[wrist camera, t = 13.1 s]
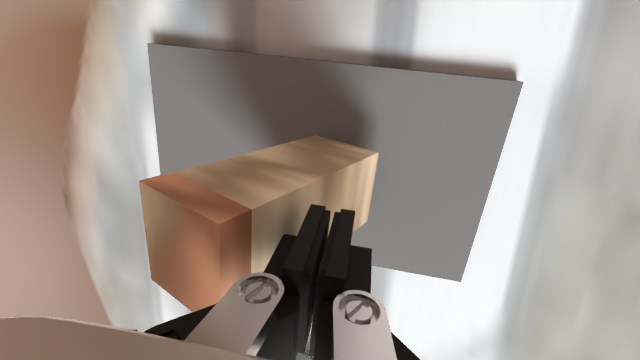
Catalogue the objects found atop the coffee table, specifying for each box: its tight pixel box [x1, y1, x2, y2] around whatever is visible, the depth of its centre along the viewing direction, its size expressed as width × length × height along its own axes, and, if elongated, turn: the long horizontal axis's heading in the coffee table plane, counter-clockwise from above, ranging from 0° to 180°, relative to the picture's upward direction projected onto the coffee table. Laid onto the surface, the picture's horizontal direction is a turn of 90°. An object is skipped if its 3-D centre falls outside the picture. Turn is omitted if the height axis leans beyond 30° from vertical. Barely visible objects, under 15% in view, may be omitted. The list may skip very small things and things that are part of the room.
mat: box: [147, 43, 523, 282], centre depth 20 cm, size 20×12×1 cm, turn 85°
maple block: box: [139, 135, 379, 312], centre depth 14 cm, size 4×4×10 cm
